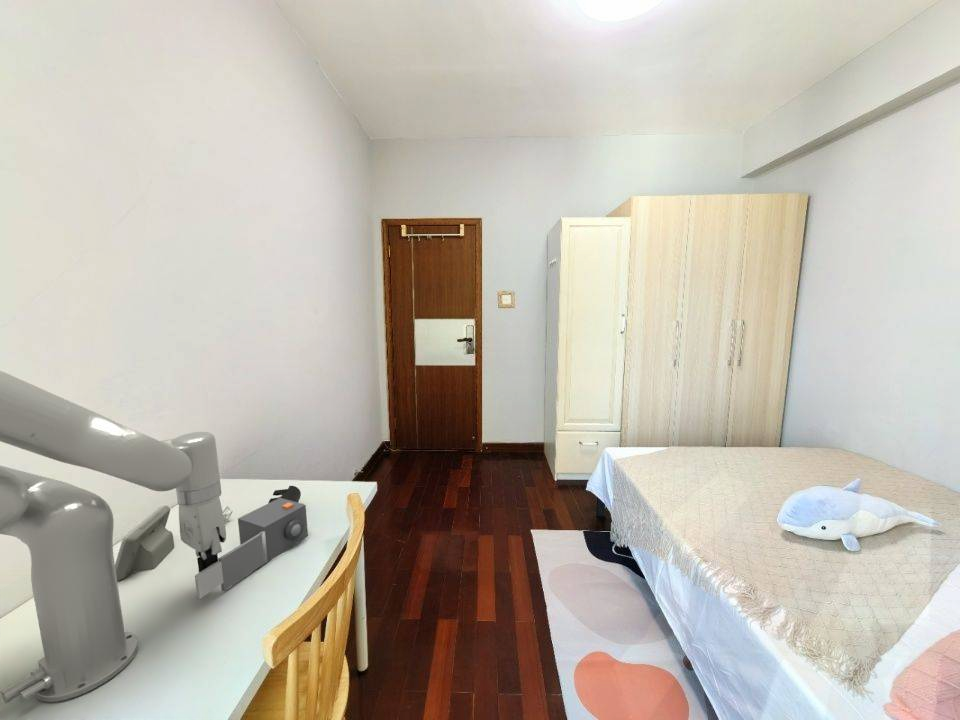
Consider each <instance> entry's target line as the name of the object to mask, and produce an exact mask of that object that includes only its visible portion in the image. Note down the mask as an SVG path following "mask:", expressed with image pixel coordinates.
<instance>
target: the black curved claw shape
mask: <svg viewBox="0 0 960 720" xmlns="http://www.w3.org/2000/svg"><path fill="white" fill-rule="evenodd" d="M301 495H302V493H301V490H300V488H298V487H297V486H295V485H289V487H288V488H283V489H277V490H274V491H273V493H272V496H273V497H272V498H269V501H268V502H267V504H268V503H270V502H272V501H274V500H276V499H278V498H283V499H286V500H290V501H294V502H297V503H300V500H301ZM274 496H279V497H274Z"/></svg>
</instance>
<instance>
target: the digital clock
mask: <svg viewBox="0 0 960 720" xmlns="http://www.w3.org/2000/svg"><path fill="white" fill-rule="evenodd" d="M170 513H171V508H170V506H168V505H164V506H163V505H162V506H159V507H158V508H157V509H156V510H155V511H153V512H152V513H151V514H150V515H149V516H147V517H146V518H145V519H143V521H141V522H140V523H139V524H137V525H136V526H135V527H133V529H132V530H130V531H129V532H128V533H127V534H126V535H125V536H124V537H123V538H122V541H121V543H120V546H119V551H118V554H117V557H116V561H115V562H114V563H115V570H116V577H117V581H121V580H123V579H125V578H127V576H128V575H129V574H130V573H136V572H137V573H138V572H143V571H144V572H145V571H150V570H151V571H152V570H155V569H156V568H157V566H158V565H159V564H160V563H161V562H162V561H163V560H164V559H165V558H166V557H167V556H168V555H169V554H170V553H171V551H172V550H173V549H174V548H175V542H174V535H173V532H172V531H171V530H168V529H167V528H166V527H167V526H166V525H167V523H168V519H169V516H170Z"/></svg>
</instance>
